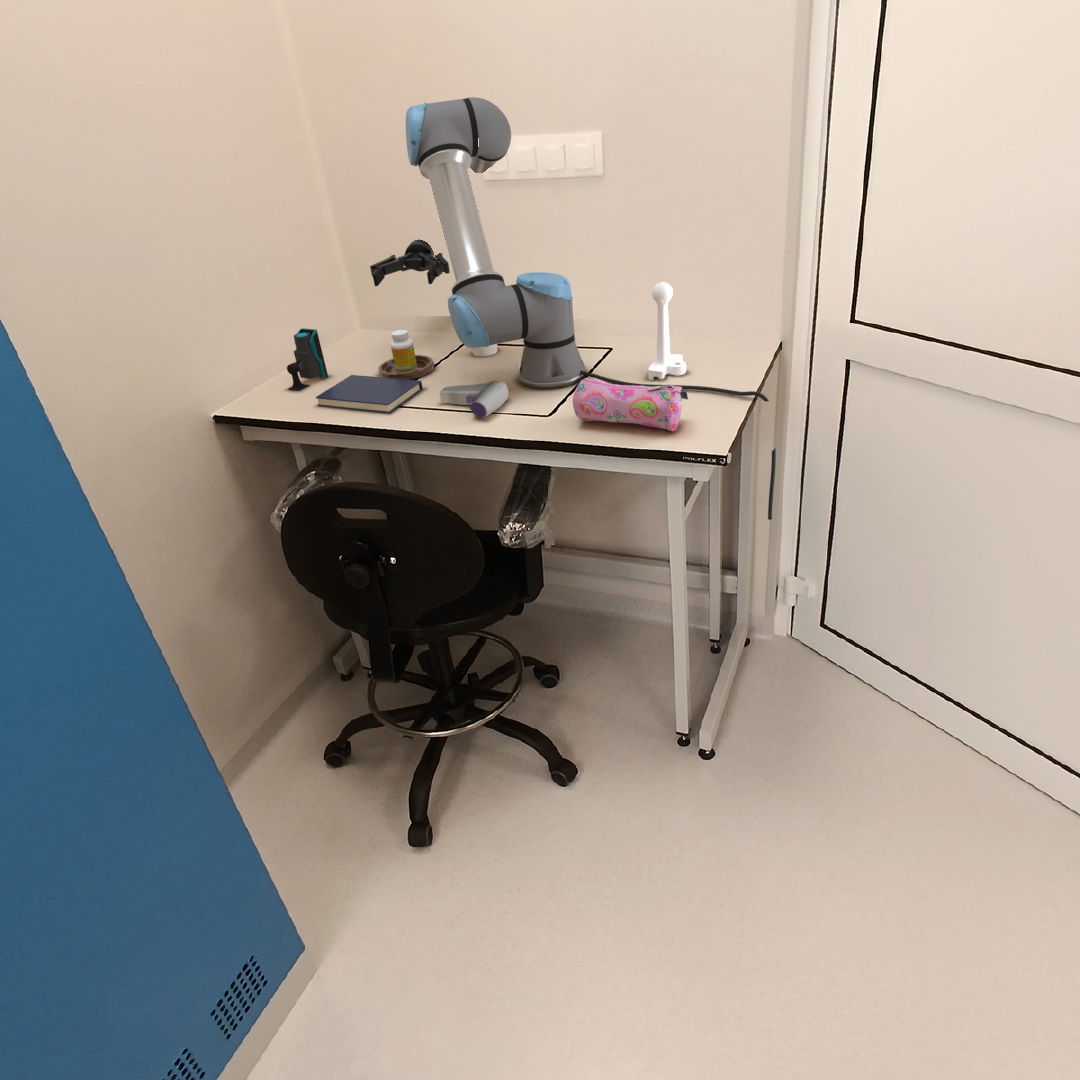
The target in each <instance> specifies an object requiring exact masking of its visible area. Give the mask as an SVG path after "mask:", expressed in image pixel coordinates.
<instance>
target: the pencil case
mask: <svg viewBox="0 0 1080 1080" xmlns="http://www.w3.org/2000/svg"><path fill="white" fill-rule="evenodd" d="M660 385H661V386H655V387H648V386H635V385H619V384H614V383H610V382H606V381H603V380H599V379H593V378H592V379H591V377H584V378H583V379H581V380H580V381H579V383H578V384H577V385H576V388H575V390H574V393H573V396H572V407H573V410H574V415H575V416H576V417H577V419H579V420H581V421H584V422H597V421H598V422H599V421H600V422H608V423H623V424H636V425H641V426H645V427H648V428H655V429H662V430H668V431H669V432H675V431H676V430H677V428H678V425H679V422H680V420H681V419H680V418H681V414H682V409H683V400H689V397H688V392H687V391H683V389H682V387H678V386H677V387H676V386H673V385H674V384H660ZM666 385H668V386H666Z"/></svg>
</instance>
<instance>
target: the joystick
mask: <svg viewBox="0 0 1080 1080" xmlns="http://www.w3.org/2000/svg"><path fill="white" fill-rule="evenodd" d="M651 291H652V292H651V296H652V299H653V300H654V301H655V302H656V305H657V323H656V324H657V325H656V326H657V327H656V329H657V330H656V331H657V332H656V359H655V360H654V361H653V362H652V363H650V365H649V366H648V370H647V372H648V374H647V375H648V380H649V381H654V379H655V378H658V380H664V379H665V377H666V375H671V376H675V377H679V376H683V375H685V374H686V372H687V362H686V361H685V360H683V359H684V357H683V354H677V353H671V343H670V325H669V323H670V322H669V321H670V320H669V308H668V307H669V302H670V301H671V300H672V298H673V297H674V289H673V287H672V286H671V284H670V283H668V282H665V281H661V282H657V283H656V284H655V285H654V286H653V288H652V290H651Z"/></svg>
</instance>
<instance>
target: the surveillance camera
mask: <svg viewBox="0 0 1080 1080" xmlns="http://www.w3.org/2000/svg"><path fill="white" fill-rule="evenodd" d="M293 339H294V345H295V349H294V350H293V355H294V359H295V362H292V363H289V364H288V365H287V366H286V371H287V373H288V374H290V375H291V378H292V386H290V387H288V388H287V390H289V391H293V392H294V391H295V392H300V391H302V390H305V389H306V388H307V387H309V386H310V384H305V383H302V382H301V379H307V380H313V379H316V378H318V377H319V378H329V375H328V369H327V366H326V362H325V357H324V353H323V349H322V345H321V341H320V337H319V333H318V329H316V328H306V327H302V328H300V329H299V330H298V331H297V333H295V334H294V335H293Z"/></svg>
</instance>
